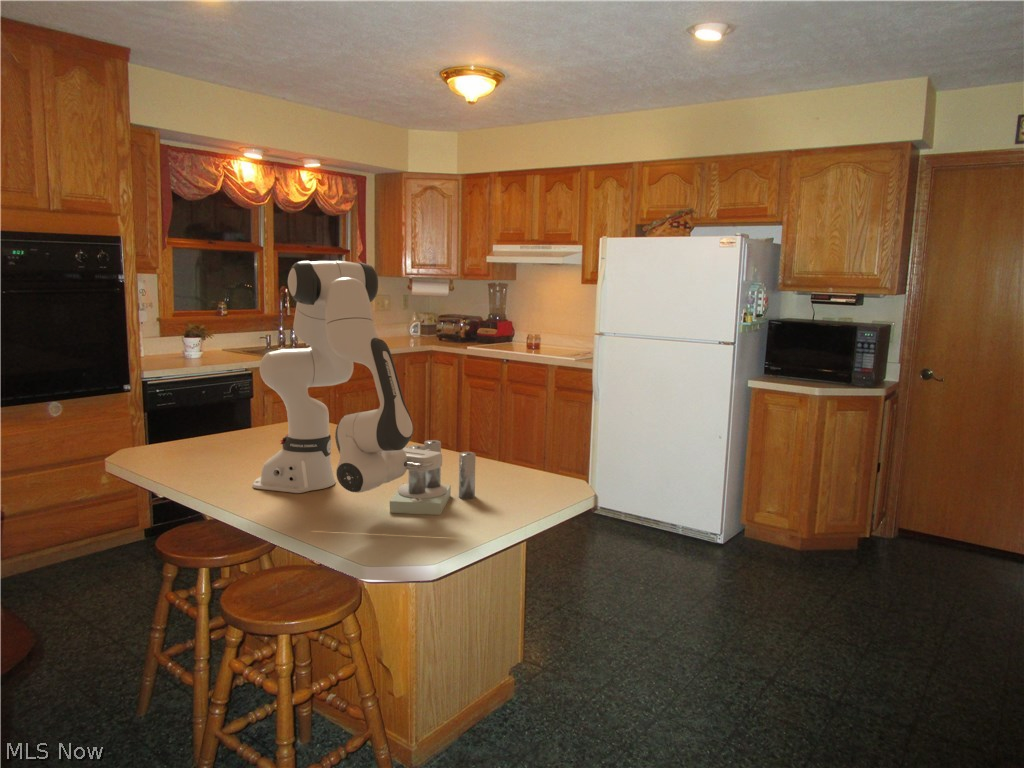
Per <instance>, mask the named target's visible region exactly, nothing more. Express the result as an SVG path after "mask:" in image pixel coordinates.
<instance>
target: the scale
mask: <svg viewBox="0 0 1024 768" xmlns="http://www.w3.org/2000/svg"><path fill="white" fill-rule="evenodd" d="M451 487H452V485H449V484H442V483H441V486H440V487H437V488H427V487H426V492H425V493H423V494H410V493H409V482H407V483H403V484H402V485H400V486H399V487H398V488H397V491H396V493H395V494H394V495H393V496H392V498H391V499H390V500H389V513H392V514H410V515H411V514H412V515H413V514H414V515H432V516H433V515H435V516H441V515H442V513H443V511H444V510H445V508H446V505H447V504H448V502H449V500H450V498H451V492H452V491H451Z"/></svg>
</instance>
